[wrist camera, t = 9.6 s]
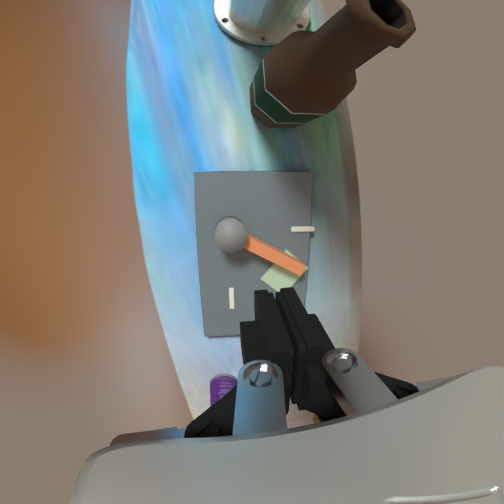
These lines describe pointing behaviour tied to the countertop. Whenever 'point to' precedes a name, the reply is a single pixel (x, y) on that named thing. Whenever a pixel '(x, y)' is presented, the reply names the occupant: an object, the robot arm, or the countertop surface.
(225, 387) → the container
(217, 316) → the tuner board
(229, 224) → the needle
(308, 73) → the beer bottle
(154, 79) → the countertop surface
